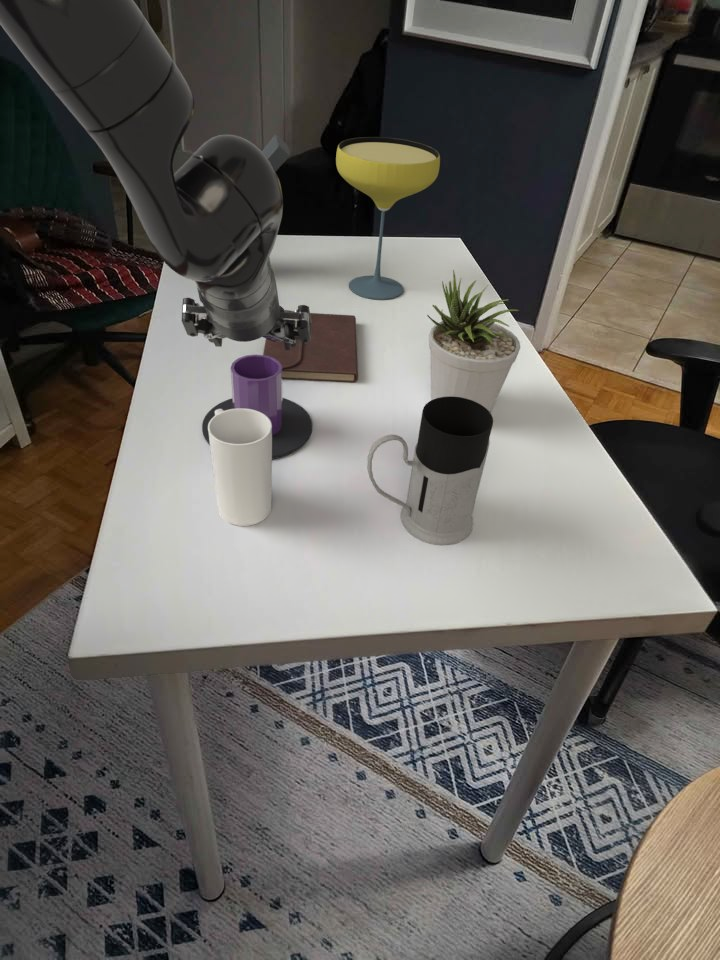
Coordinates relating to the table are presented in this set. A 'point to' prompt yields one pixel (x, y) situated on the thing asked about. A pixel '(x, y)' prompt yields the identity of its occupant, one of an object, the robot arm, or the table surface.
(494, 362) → the potted plant
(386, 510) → the table surface
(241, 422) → the mug
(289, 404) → the mat
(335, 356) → the notebook
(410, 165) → the cocktail glass
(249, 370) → the cup
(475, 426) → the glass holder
